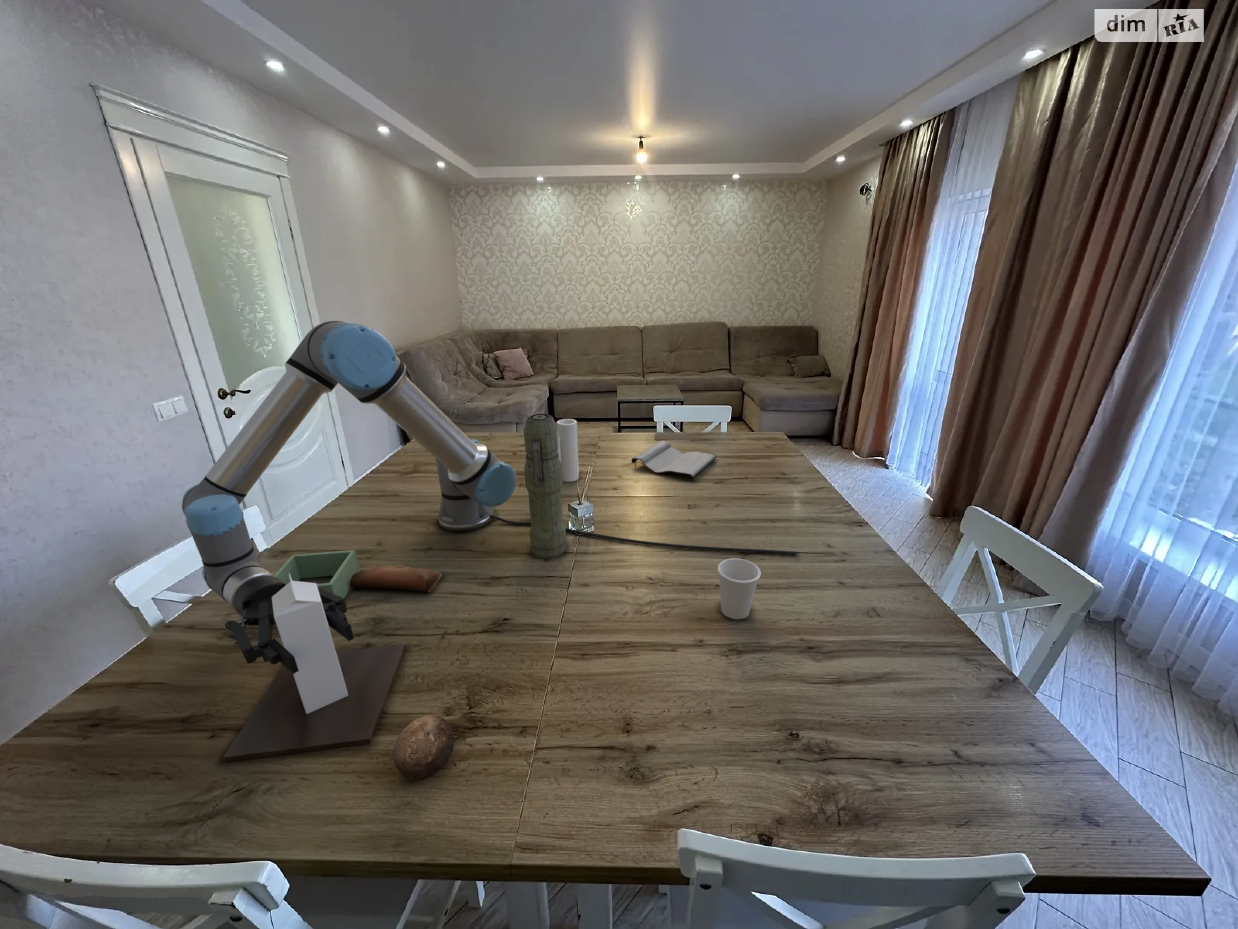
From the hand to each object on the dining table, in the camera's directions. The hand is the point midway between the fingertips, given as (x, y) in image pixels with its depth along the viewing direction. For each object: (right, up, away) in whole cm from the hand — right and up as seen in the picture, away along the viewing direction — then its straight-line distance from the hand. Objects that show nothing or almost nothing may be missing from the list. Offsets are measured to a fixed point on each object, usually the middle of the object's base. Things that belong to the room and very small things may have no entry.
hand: (322, 648), depth 73 cm
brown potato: (+17, -15, -3) cm, 23 cm away
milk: (-4, -10, +7) cm, 13 cm away
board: (-4, -11, +7) cm, 14 cm away
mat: (+65, +28, +103) cm, 125 cm away
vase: (+25, +23, +92) cm, 98 cm away
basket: (-22, 0, +34) cm, 41 cm away
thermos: (+27, +6, +50) cm, 57 cm away
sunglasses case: (-5, +1, +37) cm, 38 cm away
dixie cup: (+69, -3, +27) cm, 74 cm away
